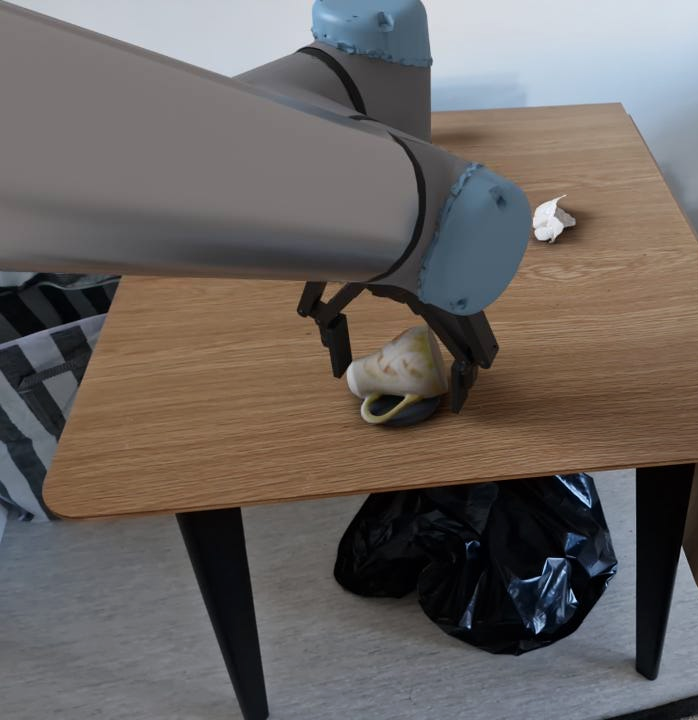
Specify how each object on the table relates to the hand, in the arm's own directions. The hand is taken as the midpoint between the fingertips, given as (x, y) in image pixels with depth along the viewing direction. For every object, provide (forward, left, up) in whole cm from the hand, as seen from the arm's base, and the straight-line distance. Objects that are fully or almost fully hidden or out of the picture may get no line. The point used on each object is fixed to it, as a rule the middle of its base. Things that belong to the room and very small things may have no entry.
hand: (400, 386), depth 72 cm
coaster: (0, 0, -1) cm, 1 cm away
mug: (0, 0, -1) cm, 1 cm away
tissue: (+34, -6, -2) cm, 35 cm away
